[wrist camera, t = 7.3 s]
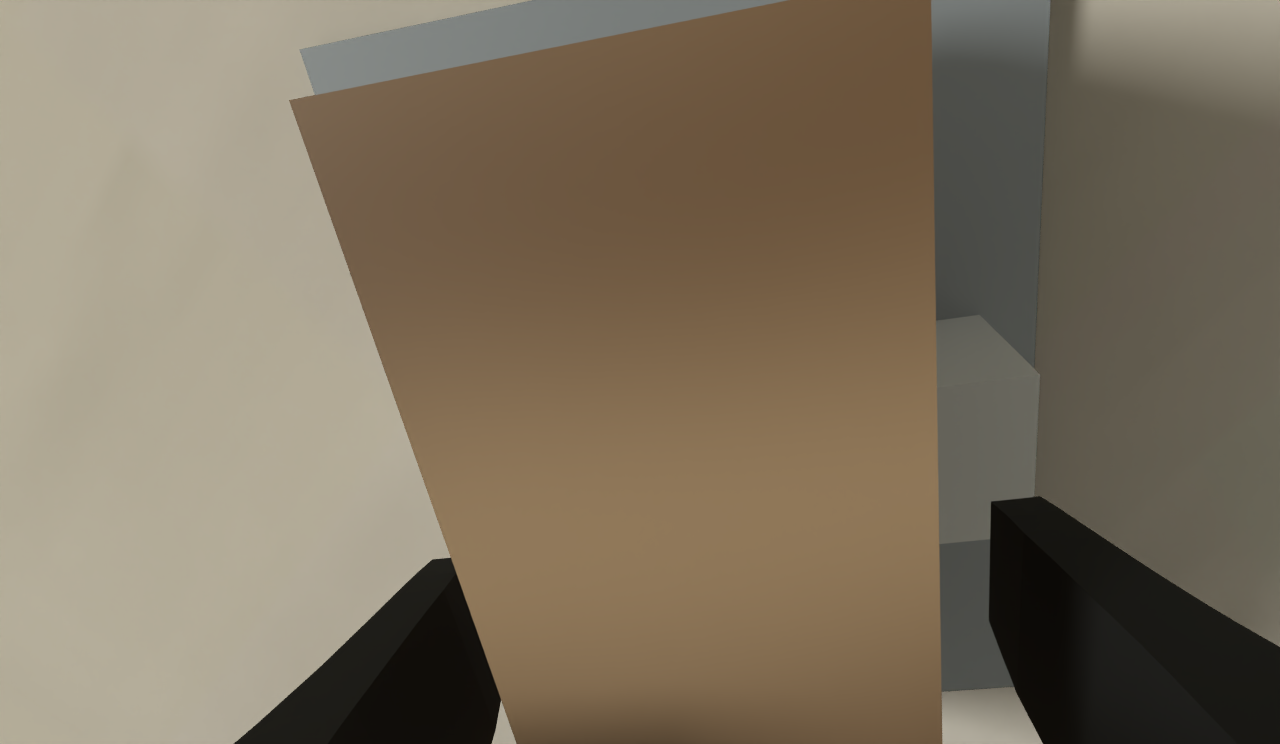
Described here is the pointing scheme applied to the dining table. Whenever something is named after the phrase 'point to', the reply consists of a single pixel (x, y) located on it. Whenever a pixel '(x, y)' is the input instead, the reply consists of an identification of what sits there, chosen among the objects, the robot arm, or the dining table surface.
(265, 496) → the dining table surface
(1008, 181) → the fulcrum
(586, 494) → the walnut bar
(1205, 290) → the dining table surface
